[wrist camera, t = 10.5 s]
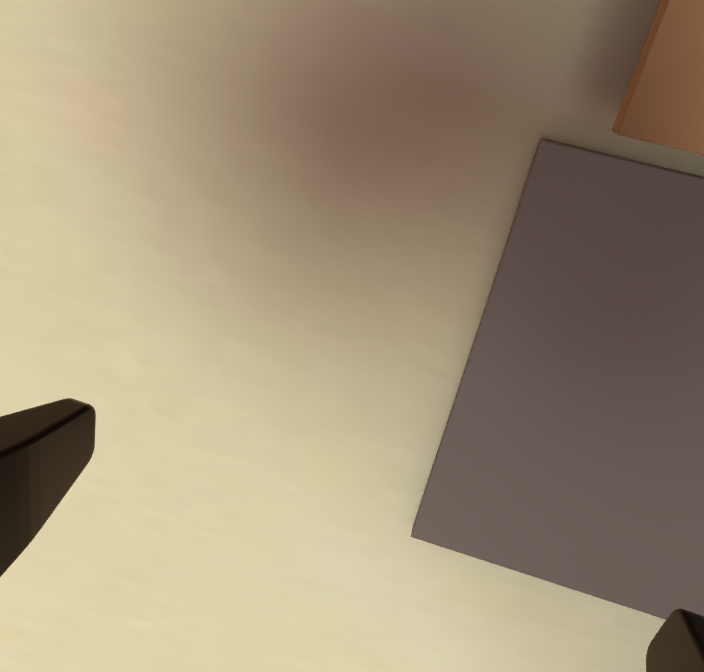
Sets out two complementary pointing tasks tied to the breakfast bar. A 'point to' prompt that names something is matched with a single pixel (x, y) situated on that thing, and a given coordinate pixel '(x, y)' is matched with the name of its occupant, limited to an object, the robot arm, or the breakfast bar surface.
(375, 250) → the breakfast bar surface
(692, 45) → the walnut lid
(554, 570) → the rubber mat
